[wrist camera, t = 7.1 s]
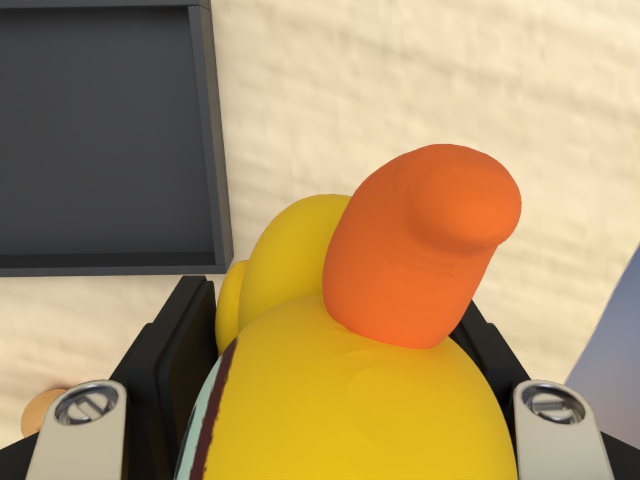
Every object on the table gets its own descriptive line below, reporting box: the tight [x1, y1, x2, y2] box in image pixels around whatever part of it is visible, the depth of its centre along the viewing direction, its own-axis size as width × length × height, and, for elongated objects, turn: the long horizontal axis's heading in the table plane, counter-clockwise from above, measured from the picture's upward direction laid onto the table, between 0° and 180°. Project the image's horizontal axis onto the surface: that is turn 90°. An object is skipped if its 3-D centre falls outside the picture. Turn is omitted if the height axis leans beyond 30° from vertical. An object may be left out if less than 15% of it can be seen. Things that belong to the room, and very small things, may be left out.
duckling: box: [174, 144, 521, 480], centre depth 9 cm, size 11×5×10 cm, turn 166°
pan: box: [0, 0, 234, 277], centre depth 26 cm, size 15×19×3 cm
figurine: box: [21, 389, 66, 438], centre depth 29 cm, size 8×6×12 cm
